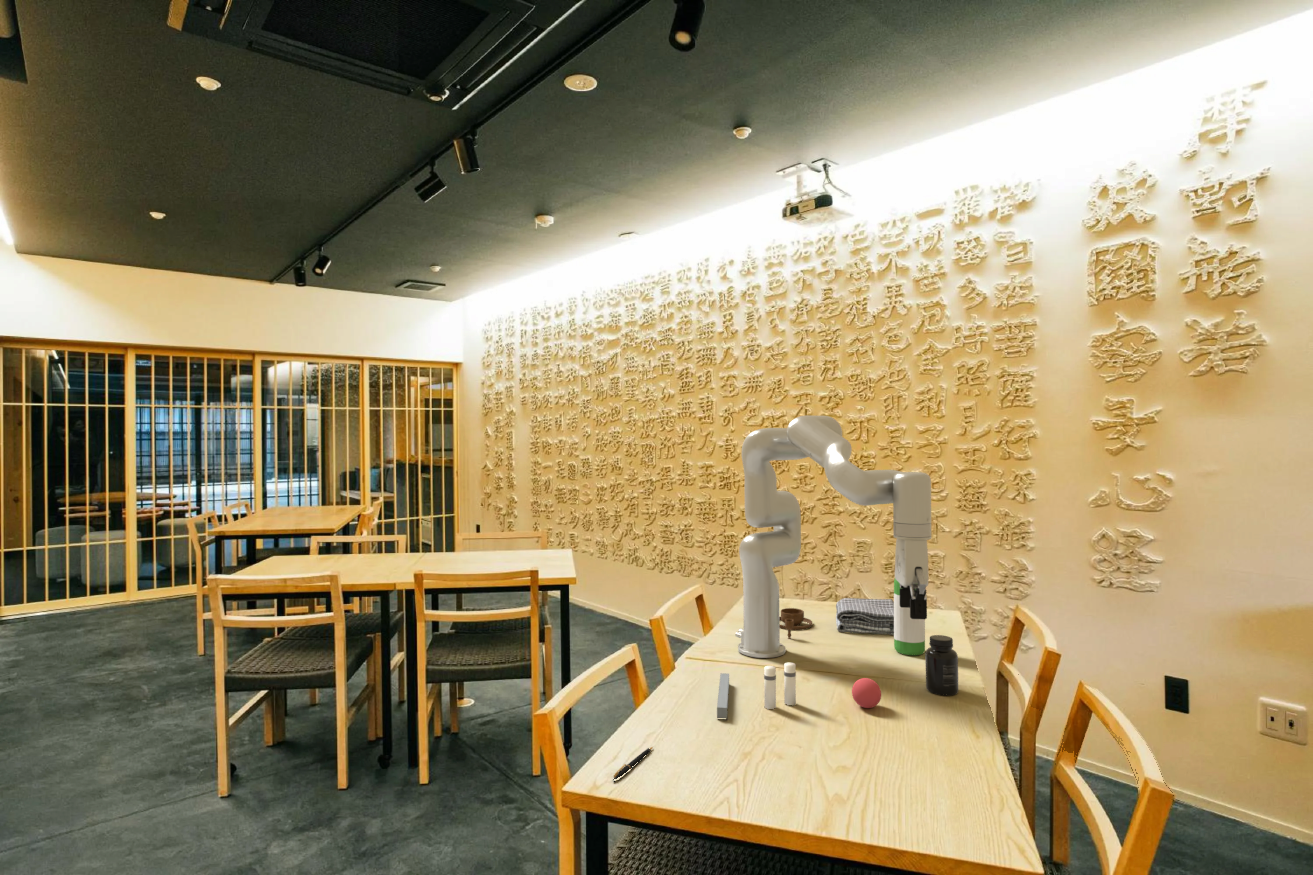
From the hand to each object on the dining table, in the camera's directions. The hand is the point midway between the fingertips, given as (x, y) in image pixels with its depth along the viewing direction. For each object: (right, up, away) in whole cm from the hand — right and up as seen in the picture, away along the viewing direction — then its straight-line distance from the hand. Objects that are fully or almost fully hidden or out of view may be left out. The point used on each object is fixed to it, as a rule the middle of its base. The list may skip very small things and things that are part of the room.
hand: (912, 612), depth 144 cm
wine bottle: (+13, -20, +37) cm, 45 cm away
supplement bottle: (+10, -20, +10) cm, 25 cm away
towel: (+9, -20, +61) cm, 65 cm away
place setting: (-15, -21, +61) cm, 66 cm away
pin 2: (-25, -20, +3) cm, 33 cm away
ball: (-9, -17, +1) cm, 20 cm away
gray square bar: (-39, -21, +5) cm, 45 cm away
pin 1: (-30, -20, +1) cm, 36 cm away
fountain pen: (-58, -21, -23) cm, 66 cm away
